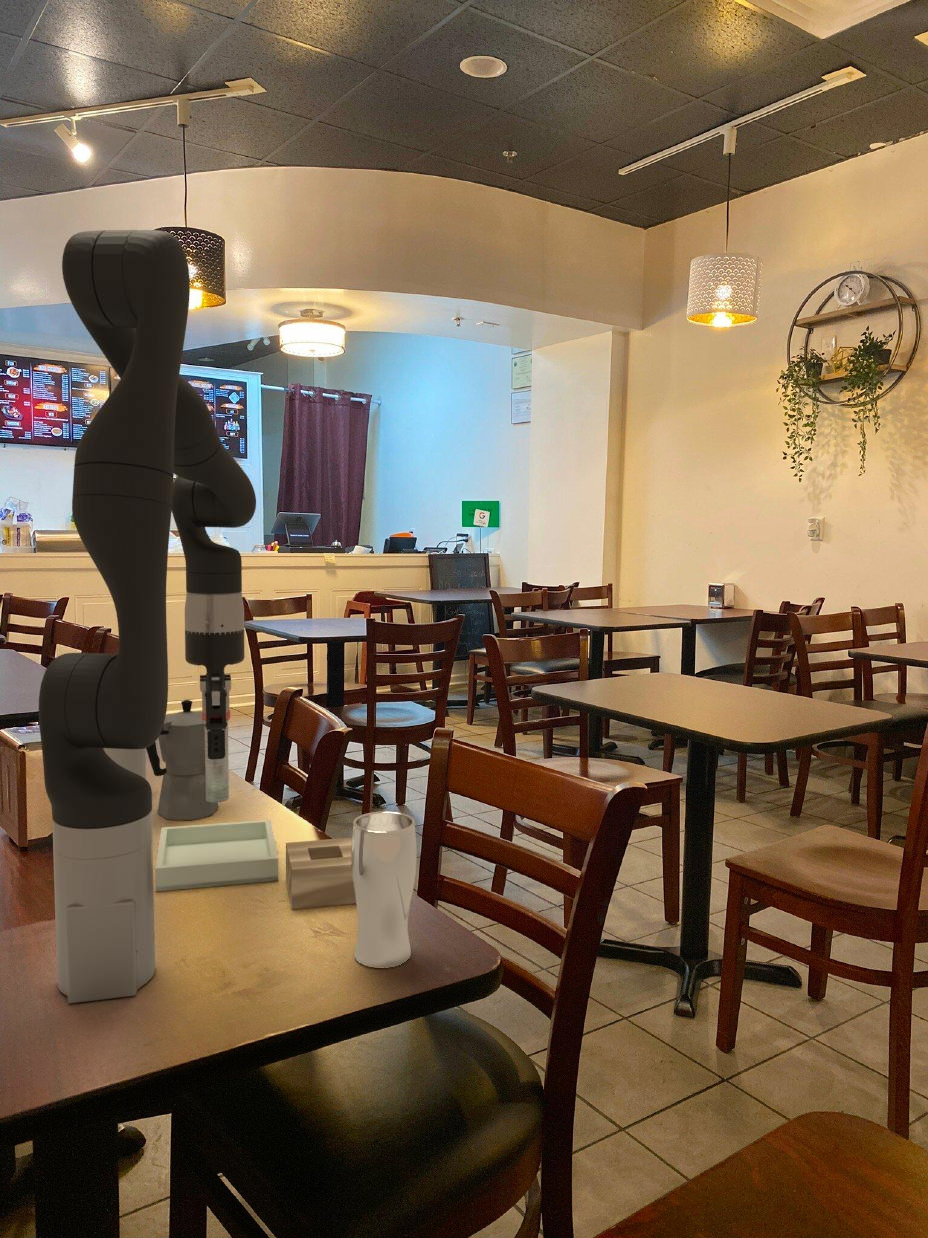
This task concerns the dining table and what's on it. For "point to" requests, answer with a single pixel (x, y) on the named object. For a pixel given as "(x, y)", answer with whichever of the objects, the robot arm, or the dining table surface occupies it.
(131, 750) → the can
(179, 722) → the coffeepot
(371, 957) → the beer glass
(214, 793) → the pin
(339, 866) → the block
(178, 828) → the tray
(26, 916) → the dining table surface
